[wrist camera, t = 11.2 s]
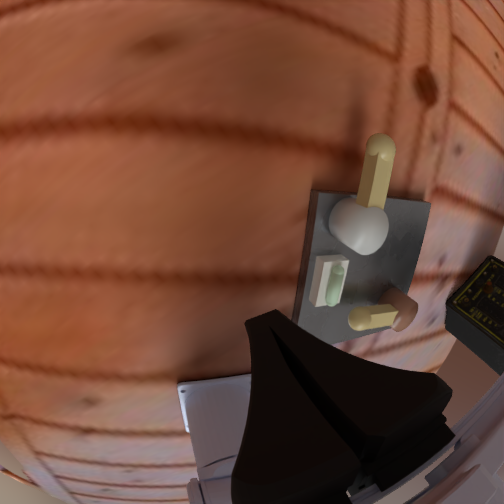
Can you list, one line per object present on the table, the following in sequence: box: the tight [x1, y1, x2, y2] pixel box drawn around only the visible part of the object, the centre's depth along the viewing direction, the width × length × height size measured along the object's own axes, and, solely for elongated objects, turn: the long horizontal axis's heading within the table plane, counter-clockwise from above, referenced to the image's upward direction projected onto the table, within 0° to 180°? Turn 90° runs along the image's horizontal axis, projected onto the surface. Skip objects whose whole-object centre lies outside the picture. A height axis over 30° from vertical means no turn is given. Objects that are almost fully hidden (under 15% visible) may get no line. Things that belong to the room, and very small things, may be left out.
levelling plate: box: [292, 190, 431, 345], centre depth 25 cm, size 15×14×1 cm
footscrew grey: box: [329, 133, 396, 255], centre depth 19 cm, size 9×4×3 cm, turn 171°
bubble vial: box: [309, 254, 349, 307], centre depth 22 cm, size 4×2×2 cm, turn 175°
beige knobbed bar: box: [348, 287, 418, 332], centre depth 25 cm, size 9×4×3 cm, turn 79°
